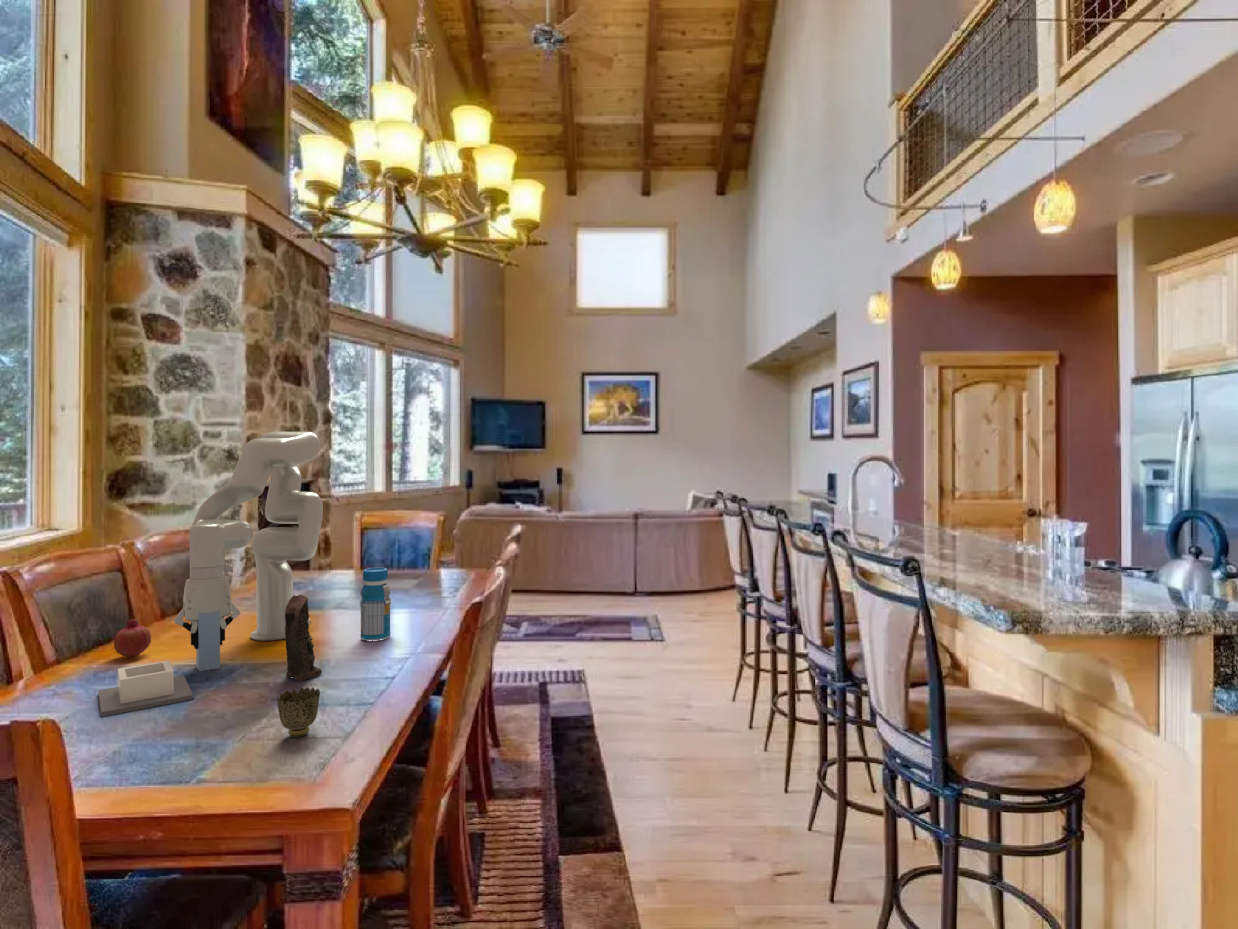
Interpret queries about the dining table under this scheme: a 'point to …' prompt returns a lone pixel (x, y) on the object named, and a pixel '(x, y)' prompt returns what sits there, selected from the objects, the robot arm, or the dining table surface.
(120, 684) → the well
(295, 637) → the statue
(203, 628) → the post
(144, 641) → the fruit
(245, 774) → the dining table surface
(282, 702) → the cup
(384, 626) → the beverage bottle
